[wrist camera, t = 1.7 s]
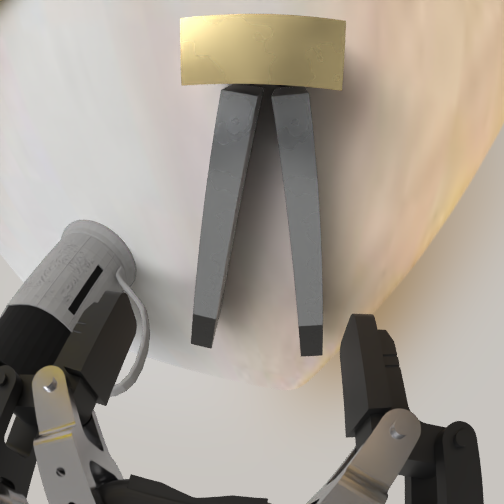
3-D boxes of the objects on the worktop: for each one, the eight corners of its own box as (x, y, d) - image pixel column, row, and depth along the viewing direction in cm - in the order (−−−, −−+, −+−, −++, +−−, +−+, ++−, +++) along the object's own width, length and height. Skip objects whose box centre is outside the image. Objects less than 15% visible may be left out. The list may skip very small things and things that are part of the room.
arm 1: (235, 82, 17) (221, 90, 13) (264, 88, 17) (257, 96, 13) (202, 306, 29) (191, 343, 25) (220, 310, 29) (211, 348, 25)
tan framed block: (217, 30, 15) (180, 18, 9) (324, 34, 14) (345, 20, 9) (217, 74, 17) (181, 85, 11) (322, 79, 16) (341, 90, 10)
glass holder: (49, 224, 25) (-44, 335, 13) (173, 207, 23) (78, 375, 11) (83, 291, 30) (19, 402, 18) (199, 292, 28) (152, 446, 16)
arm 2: (274, 88, 17) (271, 96, 13) (303, 85, 17) (308, 93, 13) (301, 317, 28) (300, 356, 25) (320, 316, 28) (322, 355, 24)
